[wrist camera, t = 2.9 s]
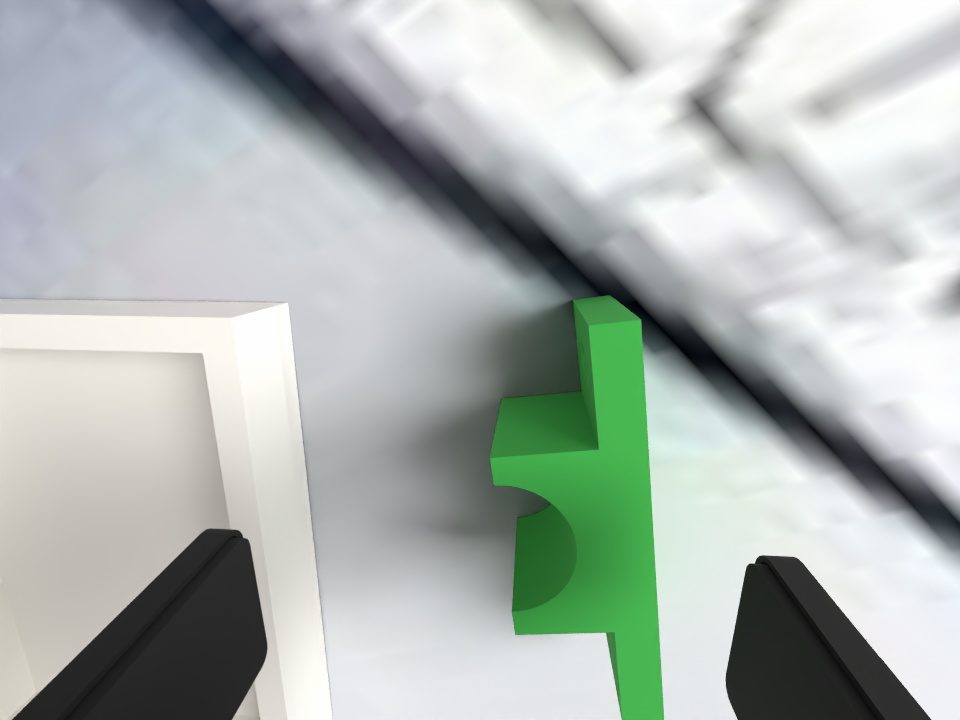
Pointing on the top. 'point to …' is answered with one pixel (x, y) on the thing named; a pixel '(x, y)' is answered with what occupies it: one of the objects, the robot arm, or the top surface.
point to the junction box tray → (150, 479)
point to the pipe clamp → (589, 505)
